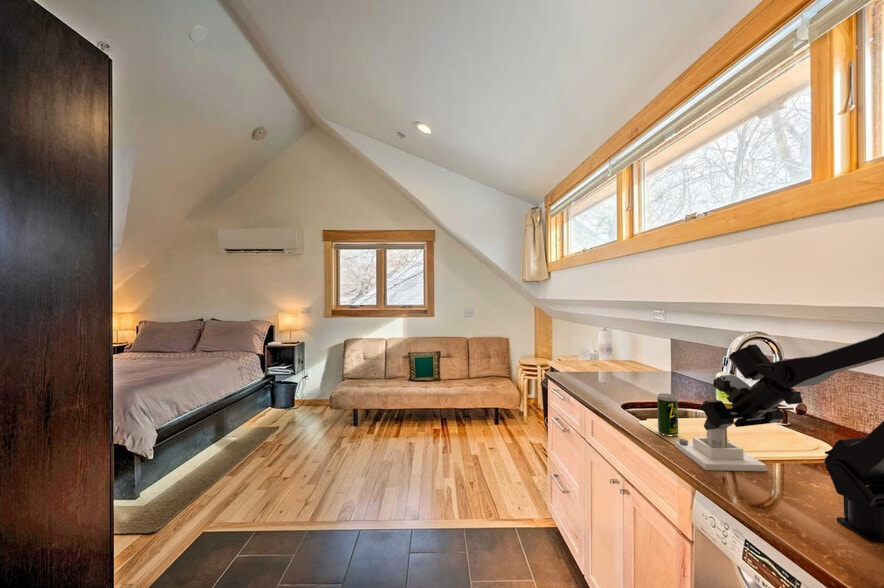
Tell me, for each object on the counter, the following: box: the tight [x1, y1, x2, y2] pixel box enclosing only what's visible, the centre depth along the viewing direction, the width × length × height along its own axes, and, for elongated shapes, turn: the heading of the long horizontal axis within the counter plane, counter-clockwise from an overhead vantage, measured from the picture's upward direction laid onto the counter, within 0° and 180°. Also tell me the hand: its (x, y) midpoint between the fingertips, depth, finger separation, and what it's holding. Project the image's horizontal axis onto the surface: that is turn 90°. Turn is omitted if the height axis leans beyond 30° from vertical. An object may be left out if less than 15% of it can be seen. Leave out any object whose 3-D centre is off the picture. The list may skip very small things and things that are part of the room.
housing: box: [674, 436, 768, 472], centre depth 98 cm, size 14×14×4 cm
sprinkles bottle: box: [706, 428, 729, 448], centre depth 98 cm, size 5×5×14 cm
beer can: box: [656, 392, 679, 437], centre depth 115 cm, size 5×5×12 cm
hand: (720, 426), depth 97 cm, fingers open, 9 cm apart
